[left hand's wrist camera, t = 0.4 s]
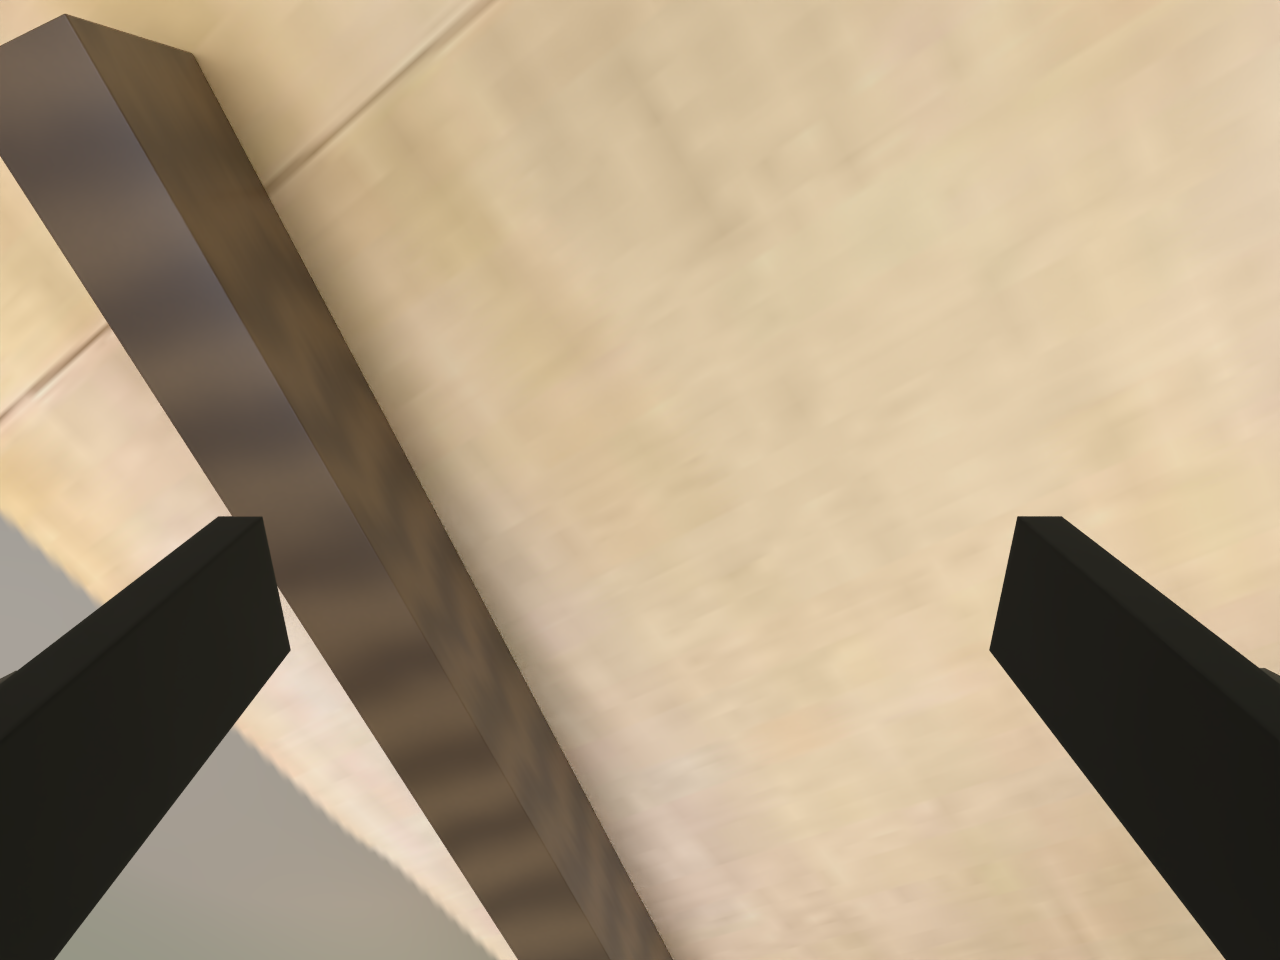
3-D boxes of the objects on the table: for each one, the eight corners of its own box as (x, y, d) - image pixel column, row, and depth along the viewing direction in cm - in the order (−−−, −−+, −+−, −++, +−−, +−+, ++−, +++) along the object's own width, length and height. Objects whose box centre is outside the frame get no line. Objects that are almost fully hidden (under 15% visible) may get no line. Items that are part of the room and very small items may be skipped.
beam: (96, 98, 34) (-55, 72, 26) (192, 52, 33) (64, 12, 26) (629, 1011, 58) (628, 1131, 50) (691, 995, 57) (699, 1115, 50)
